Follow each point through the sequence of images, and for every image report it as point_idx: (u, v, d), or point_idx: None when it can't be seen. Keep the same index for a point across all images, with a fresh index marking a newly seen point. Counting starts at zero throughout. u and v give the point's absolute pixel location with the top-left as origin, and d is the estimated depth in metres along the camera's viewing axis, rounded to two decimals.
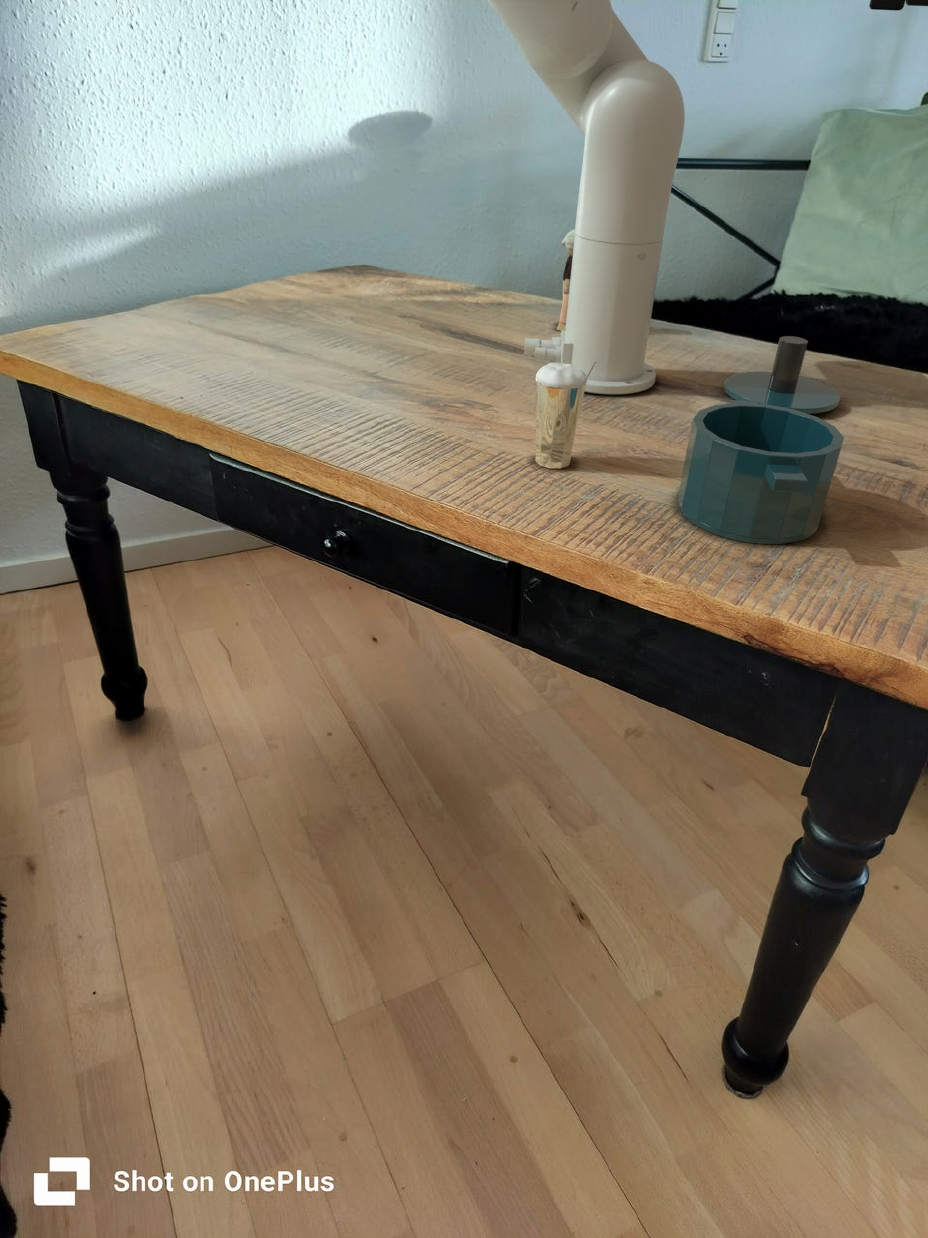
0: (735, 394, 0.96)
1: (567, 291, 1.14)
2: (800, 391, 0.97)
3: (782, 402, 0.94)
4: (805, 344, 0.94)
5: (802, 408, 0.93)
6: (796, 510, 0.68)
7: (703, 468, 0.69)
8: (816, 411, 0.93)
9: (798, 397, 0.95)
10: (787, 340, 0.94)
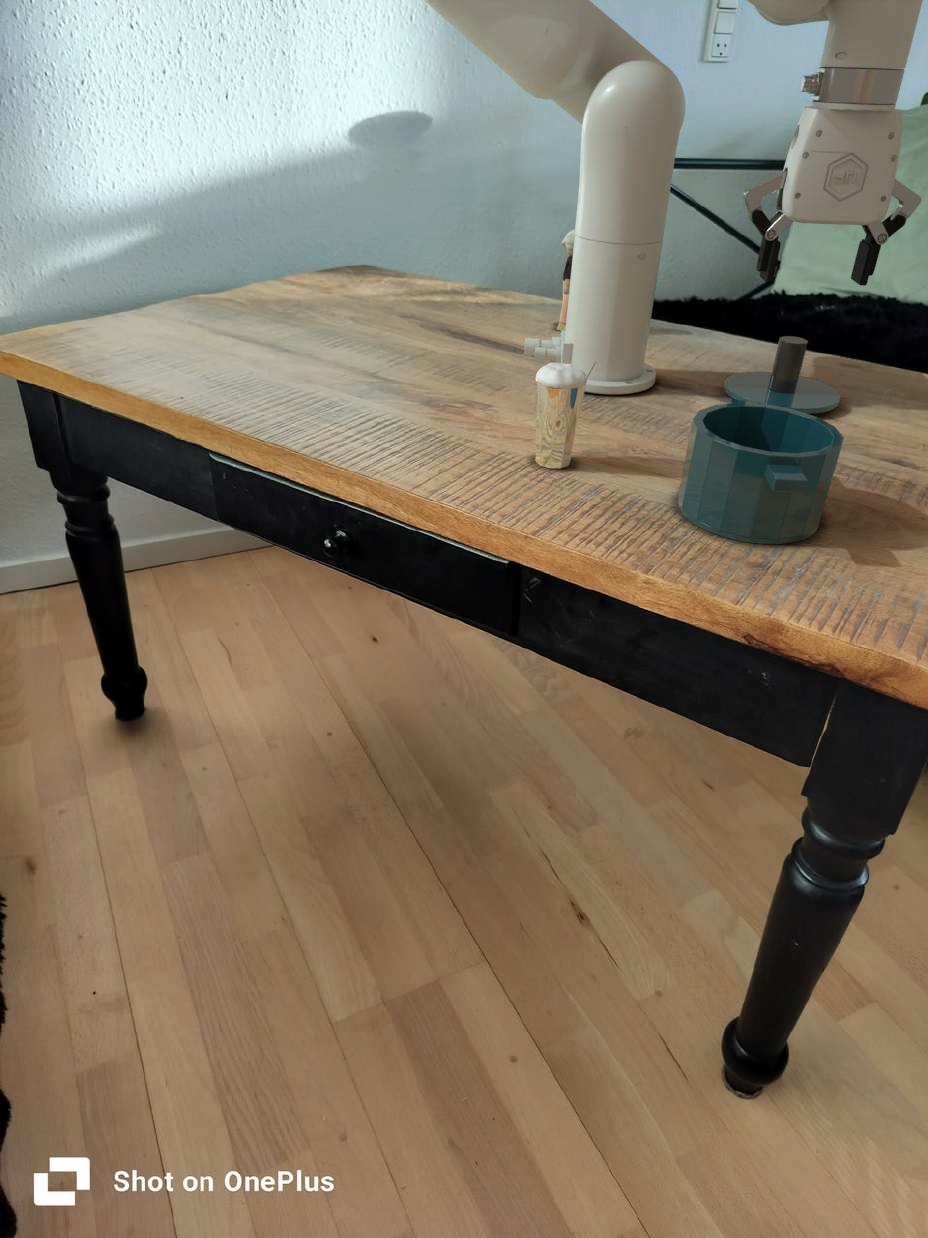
0: (735, 394, 0.96)
1: (567, 291, 1.14)
2: (800, 391, 0.97)
3: (782, 402, 0.94)
4: (805, 344, 0.94)
5: (802, 408, 0.93)
6: (796, 510, 0.68)
7: (703, 468, 0.69)
8: (816, 411, 0.93)
9: (798, 397, 0.95)
10: (787, 340, 0.94)
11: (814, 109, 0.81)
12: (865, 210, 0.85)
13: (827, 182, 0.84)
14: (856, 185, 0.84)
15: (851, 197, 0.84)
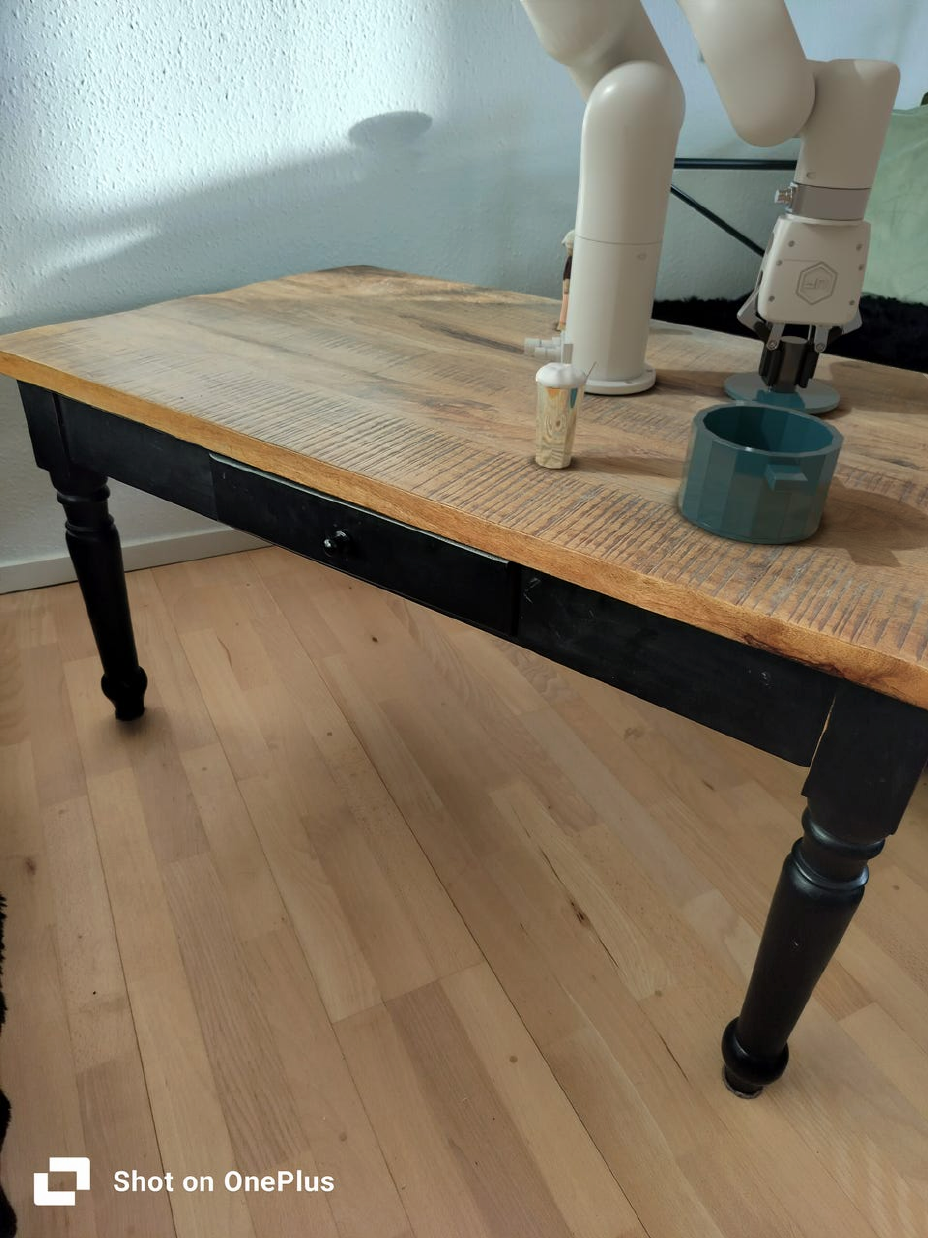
0: (735, 394, 0.96)
1: (567, 291, 1.14)
2: (800, 391, 0.97)
3: (782, 402, 0.94)
4: (805, 344, 0.94)
5: (802, 408, 0.93)
6: (796, 510, 0.68)
7: (703, 468, 0.69)
8: (816, 411, 0.93)
9: (798, 397, 0.95)
10: (787, 340, 0.94)
11: (787, 221, 0.87)
12: (835, 313, 0.90)
13: (799, 287, 0.89)
14: (826, 290, 0.89)
15: (822, 301, 0.90)
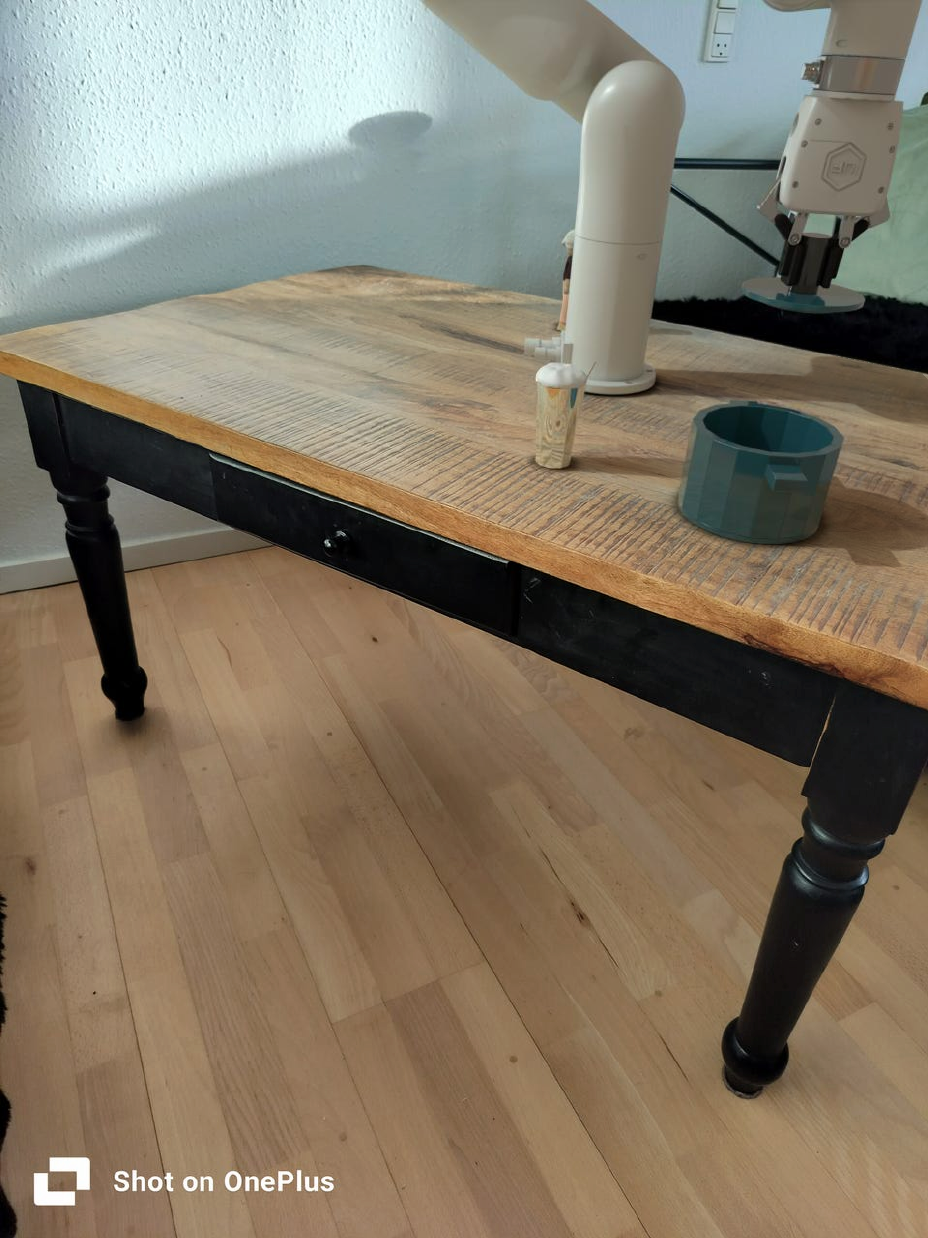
0: (753, 294, 0.90)
1: (567, 291, 1.14)
2: (822, 293, 0.91)
3: (804, 300, 0.88)
4: (829, 239, 0.88)
5: (826, 305, 0.87)
6: (796, 510, 0.68)
7: (703, 468, 0.69)
8: (840, 310, 0.87)
9: (820, 297, 0.90)
10: (810, 235, 0.89)
11: (814, 97, 0.81)
12: (862, 201, 0.85)
13: (825, 172, 0.83)
14: (854, 175, 0.83)
15: (849, 187, 0.84)
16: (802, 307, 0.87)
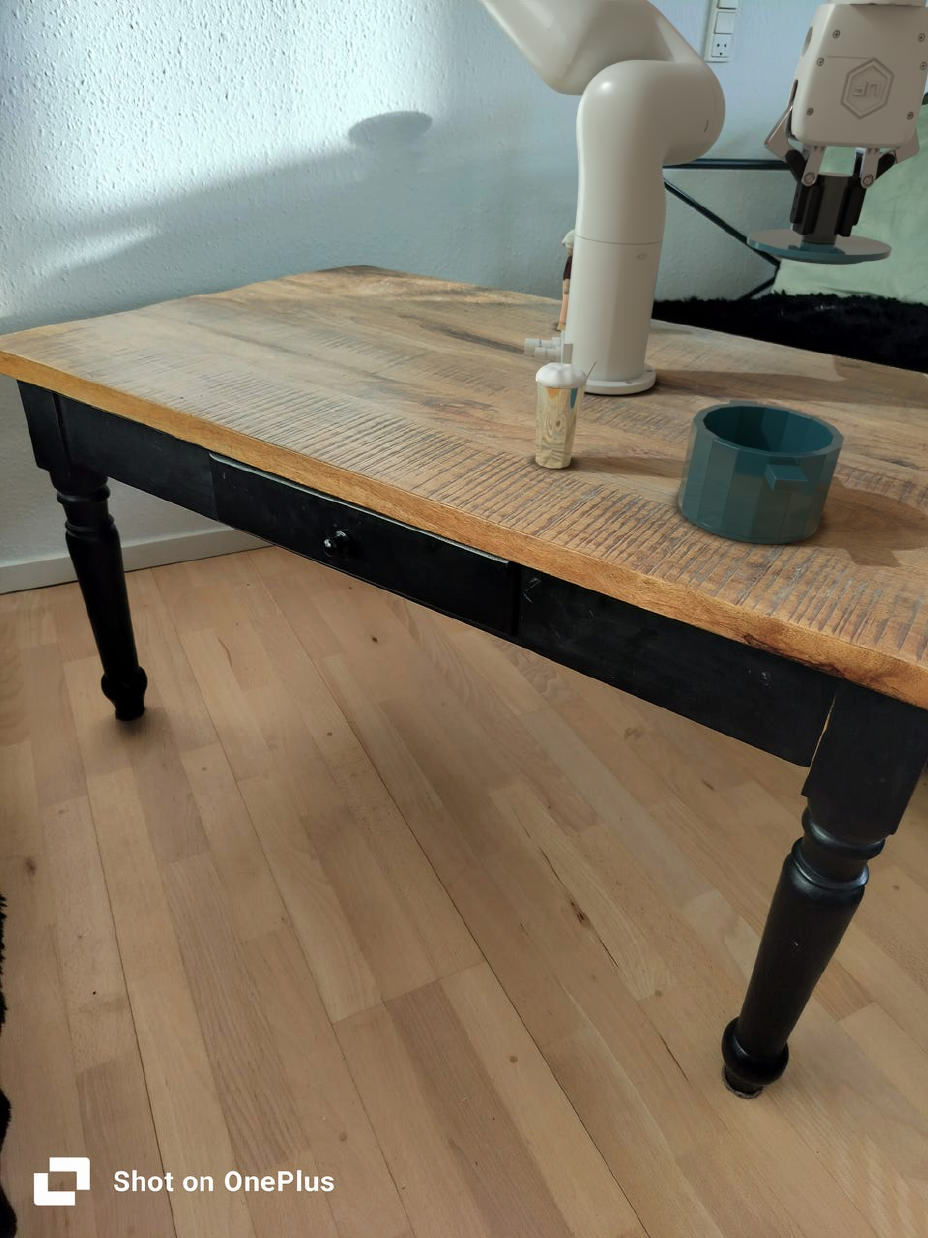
0: (763, 244, 0.77)
1: (567, 291, 1.14)
2: (841, 242, 0.79)
3: (822, 250, 0.76)
4: (849, 177, 0.76)
5: (849, 254, 0.74)
6: (796, 510, 0.68)
7: (703, 468, 0.69)
8: (865, 259, 0.75)
9: (840, 247, 0.77)
10: (826, 174, 0.76)
11: (831, 5, 0.68)
12: (889, 130, 0.72)
13: (845, 95, 0.71)
14: (879, 99, 0.71)
15: (873, 113, 0.71)
16: (821, 257, 0.75)
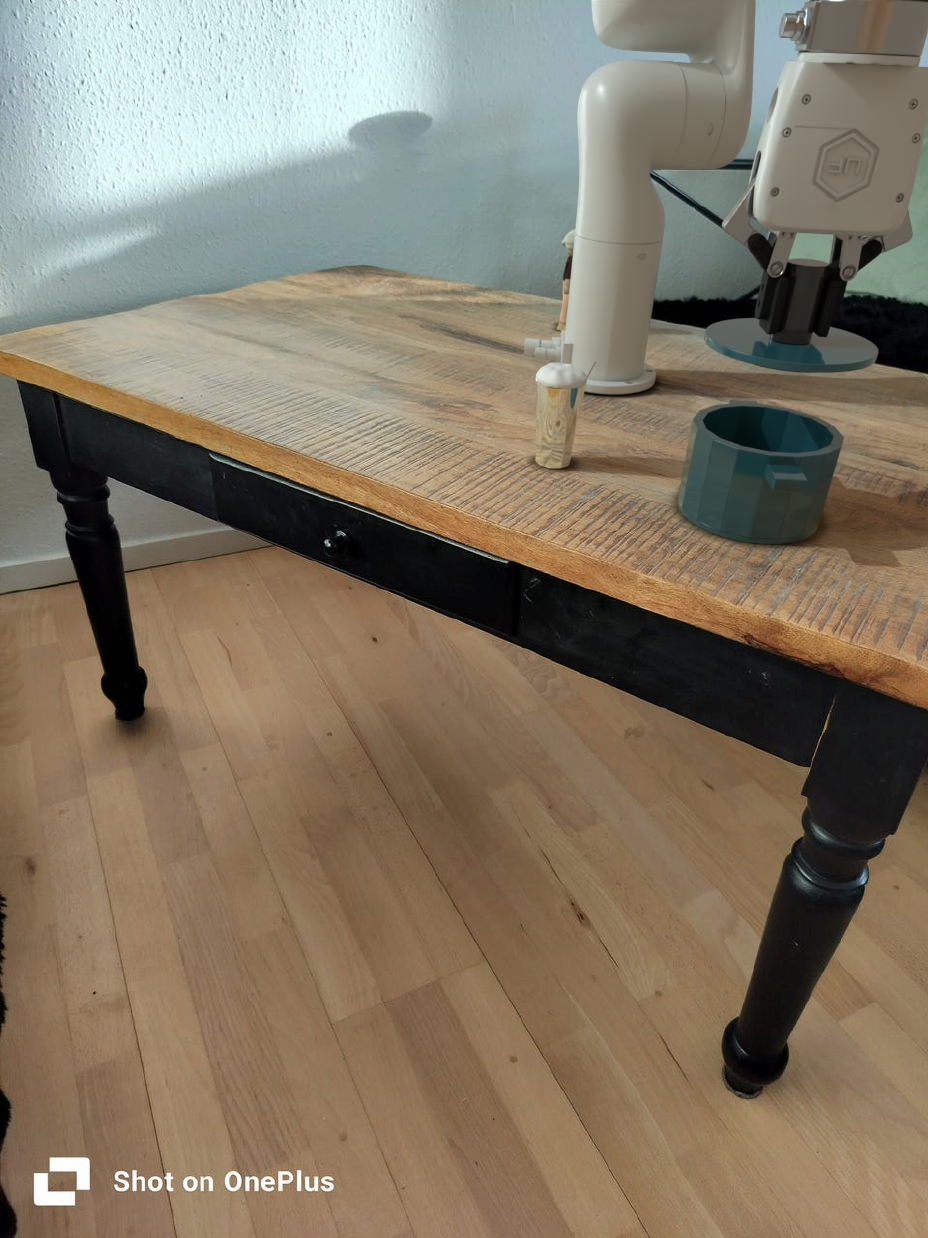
0: (720, 346, 0.64)
1: (567, 291, 1.14)
2: (818, 342, 0.65)
3: (792, 355, 0.62)
4: (826, 268, 0.62)
5: (823, 364, 0.60)
6: (796, 510, 0.68)
7: (703, 468, 0.69)
8: (844, 369, 0.61)
9: (815, 350, 0.63)
10: (798, 263, 0.62)
11: (799, 63, 0.54)
12: (873, 214, 0.58)
13: (818, 173, 0.57)
14: (861, 178, 0.57)
15: (853, 195, 0.58)
16: (789, 366, 0.61)
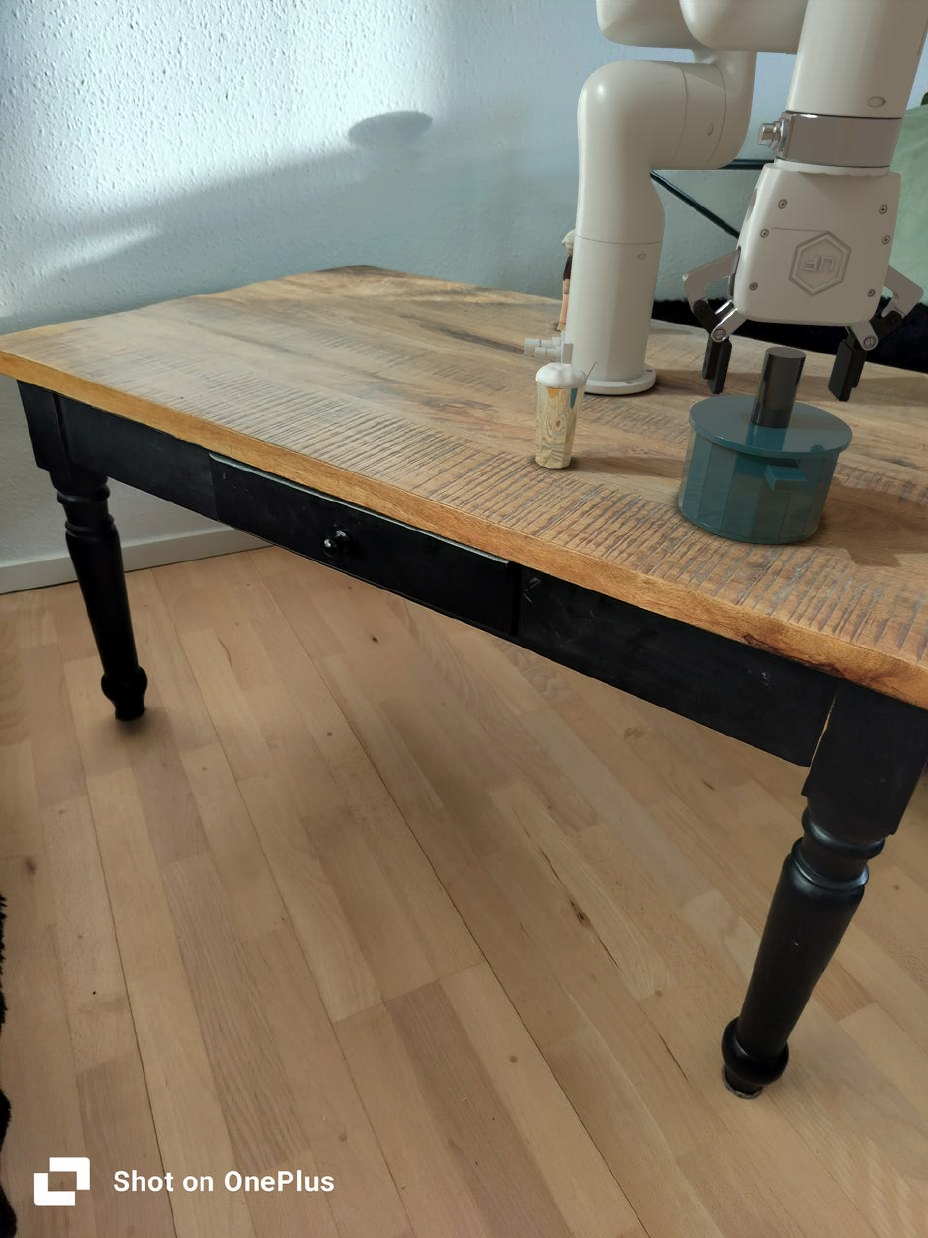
0: (703, 430, 0.67)
1: (567, 291, 1.14)
2: (796, 425, 0.69)
3: (770, 441, 0.65)
4: (803, 359, 0.65)
5: (799, 451, 0.64)
6: (796, 510, 0.68)
7: (703, 468, 0.69)
8: (818, 456, 0.64)
9: (792, 434, 0.67)
10: (777, 353, 0.66)
11: (776, 171, 0.58)
12: (846, 308, 0.62)
13: (794, 270, 0.60)
14: (834, 275, 0.60)
15: (827, 290, 0.61)
16: (767, 453, 0.64)
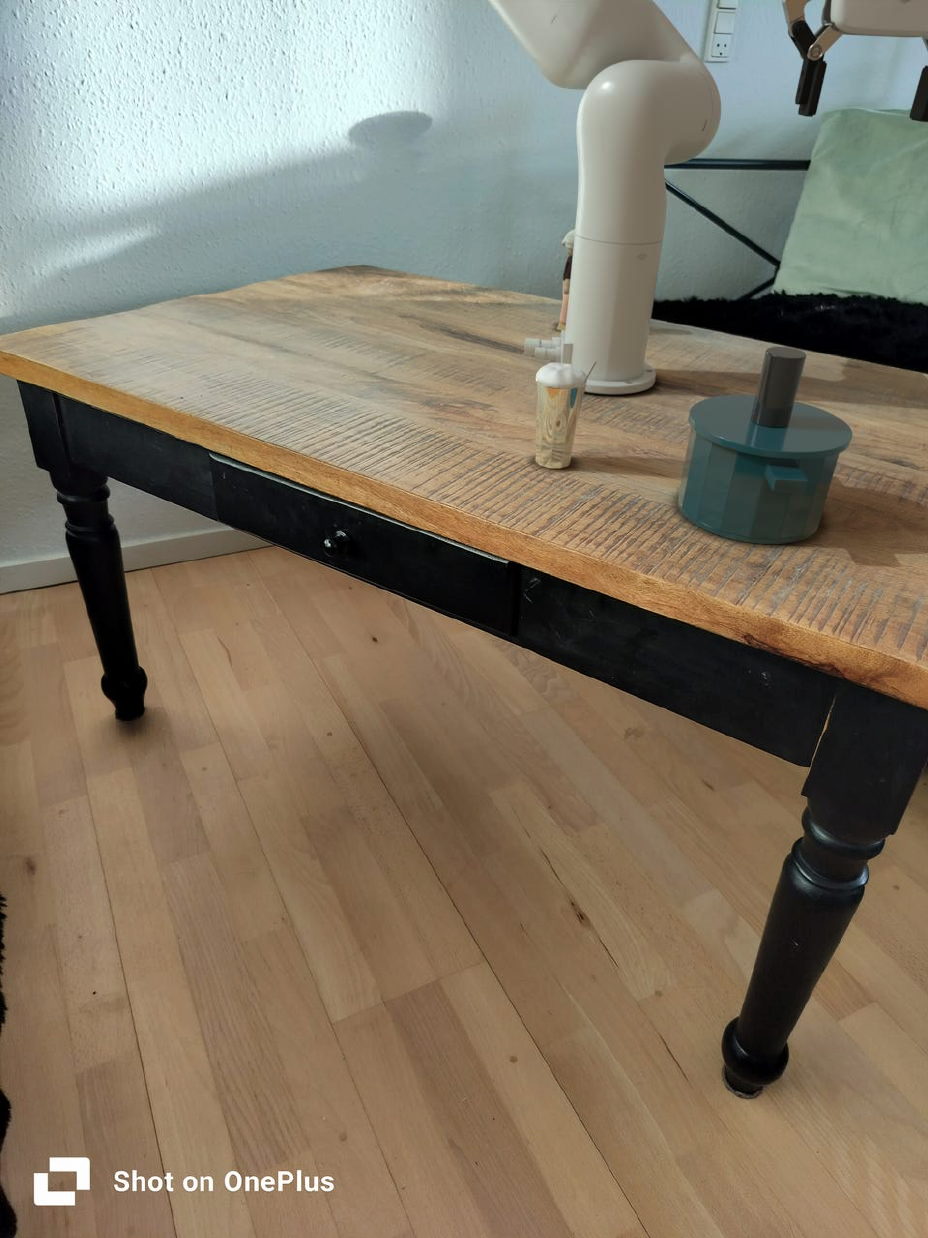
0: (703, 430, 0.67)
1: (567, 291, 1.14)
2: (796, 425, 0.69)
3: (770, 441, 0.65)
4: (803, 359, 0.65)
5: (799, 451, 0.64)
6: (796, 510, 0.68)
7: (703, 468, 0.69)
8: (818, 456, 0.64)
9: (792, 434, 0.67)
10: (777, 353, 0.66)
11: None
12: None
13: None
14: None
15: None
16: (767, 453, 0.64)
